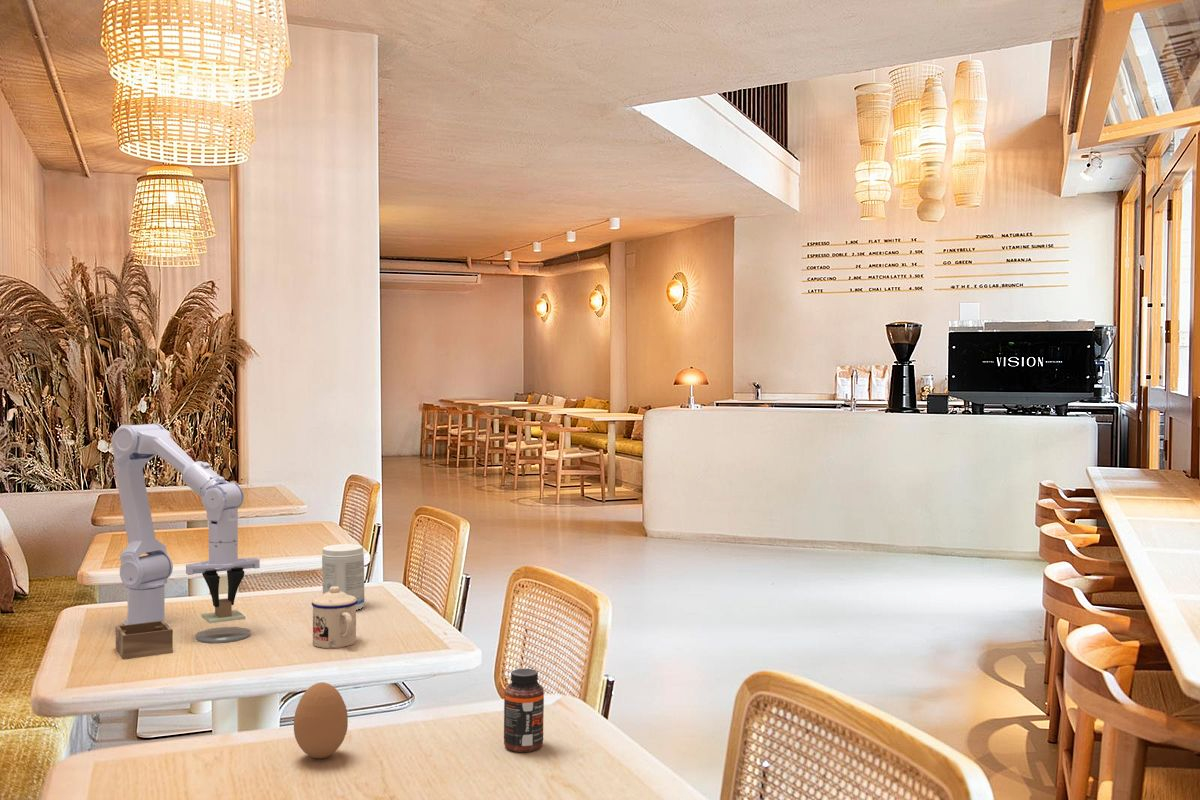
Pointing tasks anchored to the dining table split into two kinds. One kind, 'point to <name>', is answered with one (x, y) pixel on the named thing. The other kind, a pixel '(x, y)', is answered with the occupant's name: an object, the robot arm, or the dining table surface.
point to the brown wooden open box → (144, 639)
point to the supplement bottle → (523, 712)
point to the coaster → (223, 635)
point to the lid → (223, 613)
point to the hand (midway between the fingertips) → (223, 605)
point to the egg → (320, 720)
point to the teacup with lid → (334, 619)
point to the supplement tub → (344, 570)
